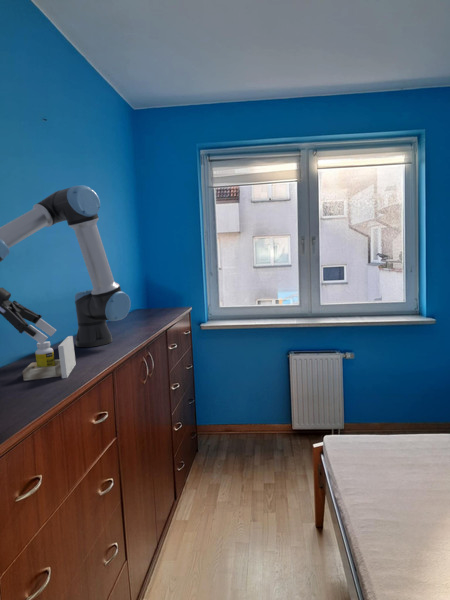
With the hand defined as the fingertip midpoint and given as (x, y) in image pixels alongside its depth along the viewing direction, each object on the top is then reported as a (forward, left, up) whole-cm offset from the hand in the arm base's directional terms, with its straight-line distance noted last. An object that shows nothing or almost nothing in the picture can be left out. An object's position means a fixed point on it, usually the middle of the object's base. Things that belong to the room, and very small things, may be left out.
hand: (49, 337), depth 138 cm
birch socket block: (+1, -2, -12) cm, 12 cm away
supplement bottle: (+1, -2, -11) cm, 12 cm away
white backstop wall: (-2, +4, -12) cm, 13 cm away
